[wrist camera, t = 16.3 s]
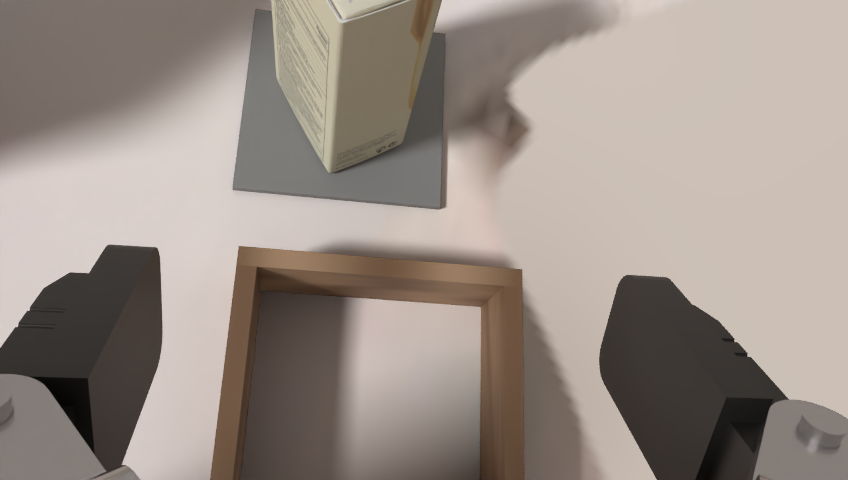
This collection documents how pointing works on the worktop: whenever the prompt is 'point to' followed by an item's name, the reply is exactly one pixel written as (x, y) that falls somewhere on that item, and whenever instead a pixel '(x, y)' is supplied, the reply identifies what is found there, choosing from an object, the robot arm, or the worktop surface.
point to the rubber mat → (297, 159)
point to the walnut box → (388, 282)
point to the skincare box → (352, 71)
